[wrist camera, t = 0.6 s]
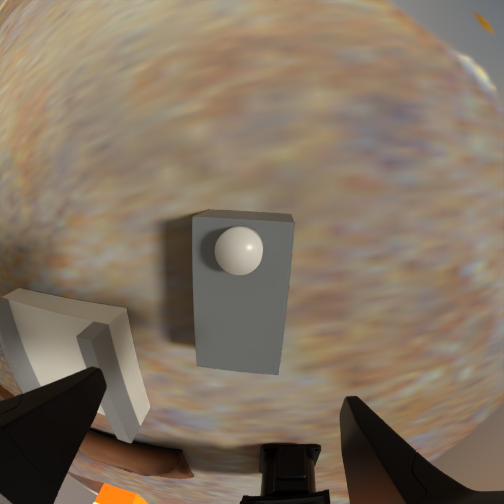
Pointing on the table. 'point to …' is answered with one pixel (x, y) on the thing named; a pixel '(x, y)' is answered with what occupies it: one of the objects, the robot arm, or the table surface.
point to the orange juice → (117, 496)
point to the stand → (74, 350)
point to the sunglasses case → (136, 457)
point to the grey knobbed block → (240, 288)
